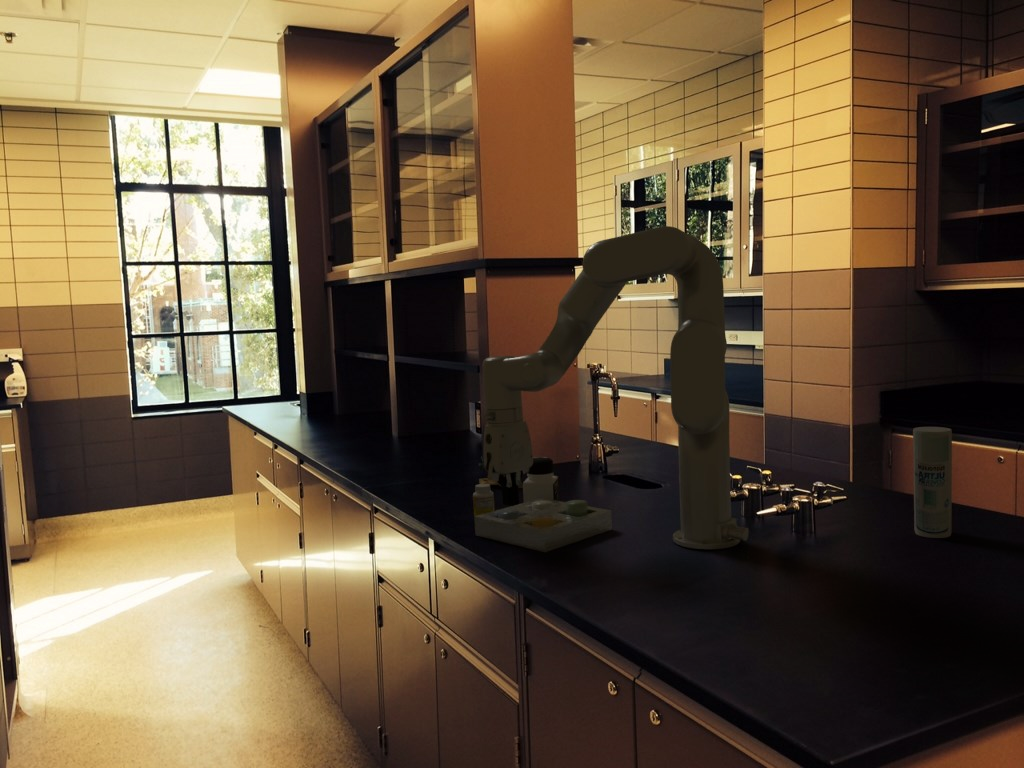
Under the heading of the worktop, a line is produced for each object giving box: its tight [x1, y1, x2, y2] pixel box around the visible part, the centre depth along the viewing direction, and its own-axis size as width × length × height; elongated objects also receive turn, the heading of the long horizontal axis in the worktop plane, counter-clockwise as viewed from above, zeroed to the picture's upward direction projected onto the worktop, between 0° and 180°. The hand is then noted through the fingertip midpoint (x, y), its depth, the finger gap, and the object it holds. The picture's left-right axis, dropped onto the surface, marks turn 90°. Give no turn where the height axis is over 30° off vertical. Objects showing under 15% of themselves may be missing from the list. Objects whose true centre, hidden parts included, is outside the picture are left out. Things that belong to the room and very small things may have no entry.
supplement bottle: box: [472, 483, 496, 522], centre depth 180 cm, size 5×5×8 cm
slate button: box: [498, 510, 519, 520], centre depth 171 cm, size 4×4×4 cm
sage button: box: [565, 499, 588, 517], centre depth 170 cm, size 4×4×4 cm
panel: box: [473, 498, 613, 553], centre depth 170 cm, size 20×20×4 cm
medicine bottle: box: [522, 456, 560, 503], centre depth 190 cm, size 7×7×12 cm
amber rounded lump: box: [532, 517, 555, 528], centre depth 163 cm, size 4×4×4 cm
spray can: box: [912, 426, 953, 539], centre depth 155 cm, size 6×6×20 cm
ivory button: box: [532, 501, 552, 510], centre depth 177 cm, size 4×4×4 cm
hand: (511, 504), depth 170 cm, fingers closed
